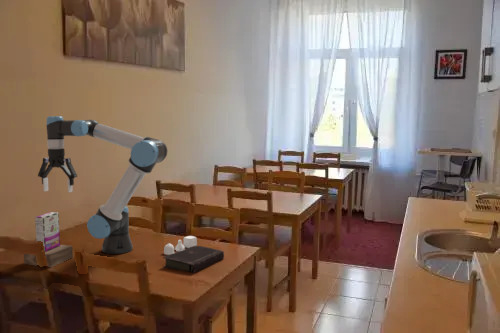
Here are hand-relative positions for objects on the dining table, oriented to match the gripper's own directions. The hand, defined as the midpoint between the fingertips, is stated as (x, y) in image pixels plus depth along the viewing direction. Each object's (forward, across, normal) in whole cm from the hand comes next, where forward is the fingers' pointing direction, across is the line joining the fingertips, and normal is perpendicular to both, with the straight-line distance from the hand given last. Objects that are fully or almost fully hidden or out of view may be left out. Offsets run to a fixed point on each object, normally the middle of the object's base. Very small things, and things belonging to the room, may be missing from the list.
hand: (58, 191), depth 232 cm
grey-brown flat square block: (+31, -1, +11) cm, 33 cm away
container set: (+33, -53, -23) cm, 67 cm away
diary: (+33, -68, -5) cm, 76 cm away
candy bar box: (+26, -1, +11) cm, 28 cm away
